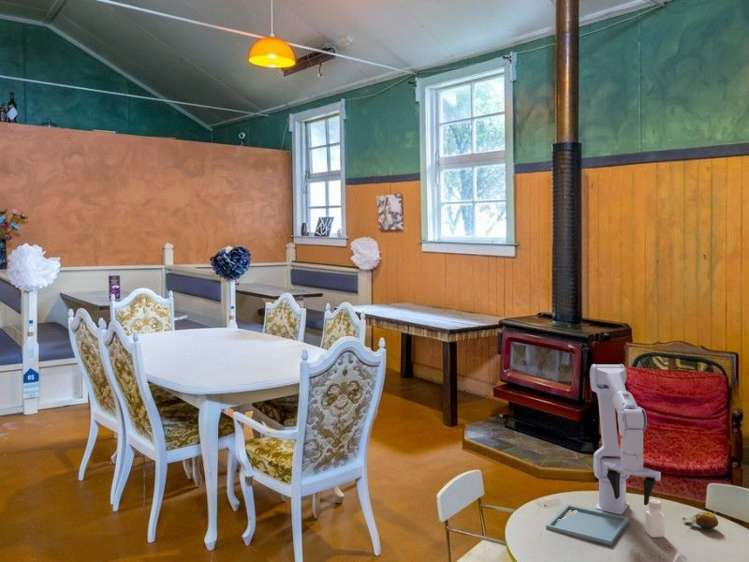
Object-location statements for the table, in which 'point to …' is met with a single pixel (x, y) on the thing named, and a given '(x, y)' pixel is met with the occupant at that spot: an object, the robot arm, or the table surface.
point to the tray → (589, 525)
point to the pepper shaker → (654, 519)
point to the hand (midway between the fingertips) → (631, 500)
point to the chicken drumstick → (704, 520)
